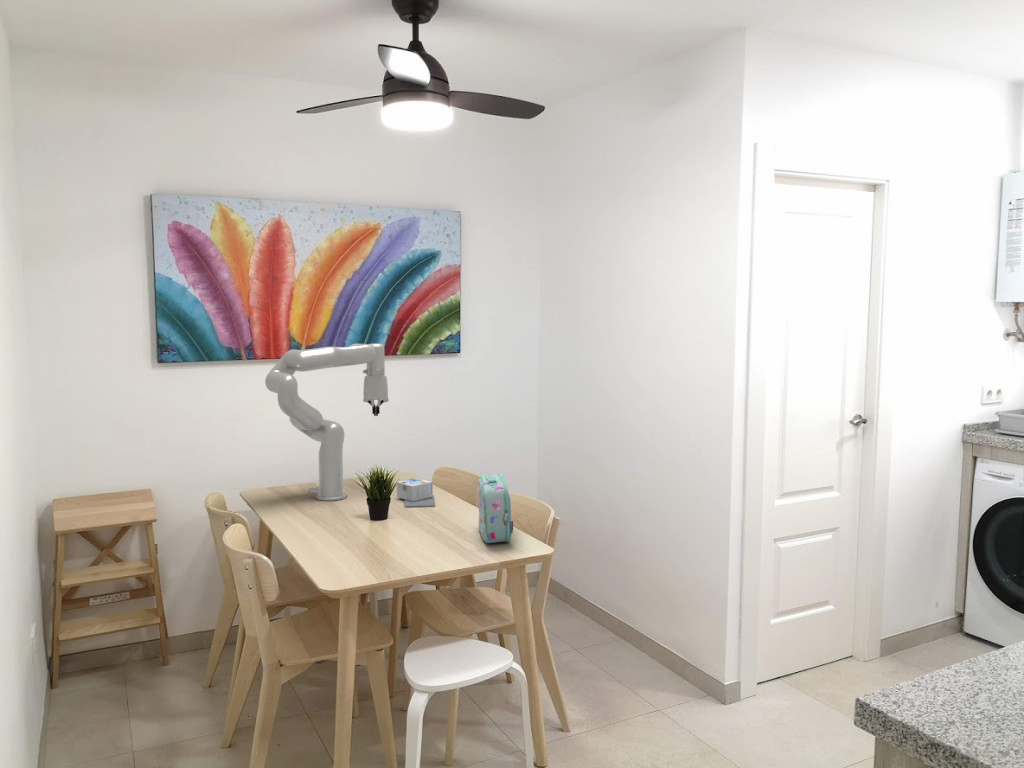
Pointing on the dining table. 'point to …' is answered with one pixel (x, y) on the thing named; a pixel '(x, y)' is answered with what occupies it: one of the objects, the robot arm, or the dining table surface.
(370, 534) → the dining table surface
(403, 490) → the light bulb box
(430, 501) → the mat
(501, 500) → the lunch box
